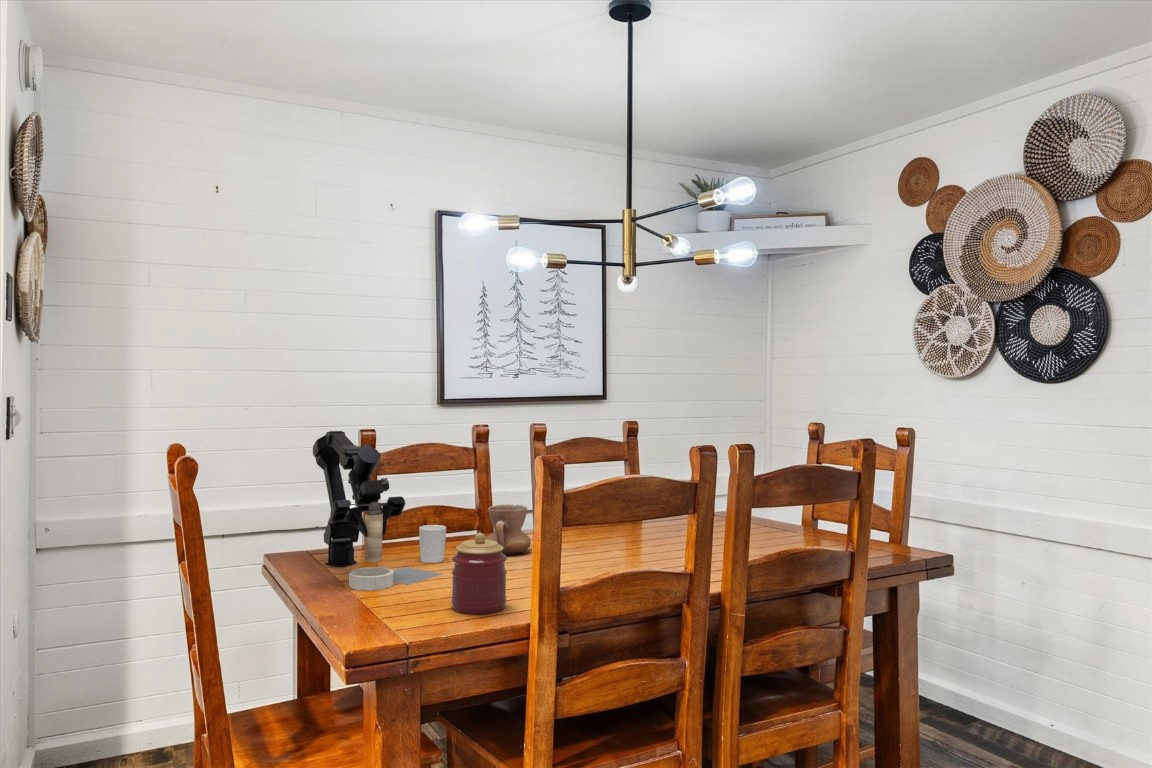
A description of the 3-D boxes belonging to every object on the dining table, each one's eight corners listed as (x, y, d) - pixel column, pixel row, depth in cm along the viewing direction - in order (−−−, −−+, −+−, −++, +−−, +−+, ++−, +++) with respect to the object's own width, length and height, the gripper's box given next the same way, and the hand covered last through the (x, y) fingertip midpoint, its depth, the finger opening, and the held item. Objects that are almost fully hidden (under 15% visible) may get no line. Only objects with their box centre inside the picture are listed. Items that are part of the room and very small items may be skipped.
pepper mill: (361, 559, 208) (362, 501, 207) (376, 557, 211) (377, 499, 210) (369, 562, 204) (371, 503, 204) (385, 560, 208) (386, 501, 207)
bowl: (340, 588, 204) (340, 574, 204) (365, 578, 214) (365, 565, 214) (377, 593, 200) (377, 579, 200) (401, 583, 211) (401, 569, 211)
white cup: (439, 565, 232) (440, 530, 232) (414, 563, 233) (414, 529, 233) (449, 559, 239) (450, 525, 239) (424, 557, 241) (425, 524, 241)
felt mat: (368, 578, 215) (368, 577, 215) (404, 568, 227) (405, 567, 227) (407, 585, 208) (407, 584, 208) (443, 575, 220) (443, 573, 220)
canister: (459, 617, 182) (460, 540, 181) (445, 602, 193) (446, 529, 193) (513, 611, 187) (515, 536, 187) (496, 597, 199) (497, 526, 198)
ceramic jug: (495, 544, 261) (495, 501, 261) (537, 547, 257) (537, 503, 257) (474, 557, 243) (474, 511, 243) (519, 560, 240) (519, 513, 239)
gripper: (334, 469, 206) (346, 519, 196) (403, 466, 216) (418, 513, 207) (325, 495, 212) (336, 545, 203) (392, 491, 222) (406, 538, 213)
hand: (375, 534), depth 206 cm, fingers closed on pepper mill, 4 cm apart
